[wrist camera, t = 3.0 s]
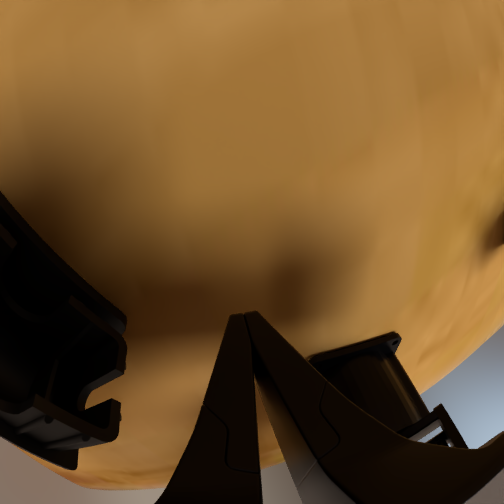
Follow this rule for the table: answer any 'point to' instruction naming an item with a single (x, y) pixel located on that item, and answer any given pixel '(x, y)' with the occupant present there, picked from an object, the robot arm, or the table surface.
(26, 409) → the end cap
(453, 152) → the table surface
